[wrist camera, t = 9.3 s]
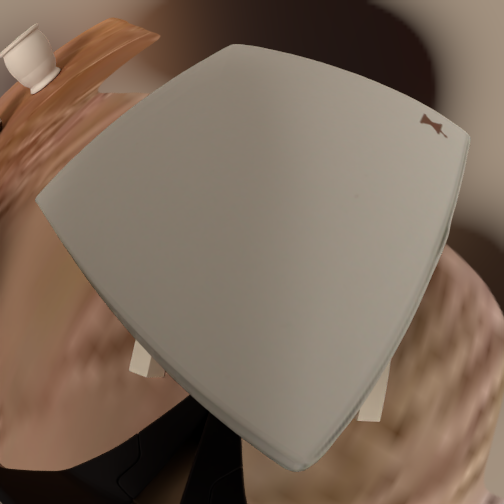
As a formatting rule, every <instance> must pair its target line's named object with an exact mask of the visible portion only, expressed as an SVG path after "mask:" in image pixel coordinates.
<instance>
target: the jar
mask: <svg viewBox="0 0 504 504" xmlns="http://www.w3.org/2000/svg"><path fill="white" fill-rule="evenodd" d="M38 26H39V24H38V23H36V24H34V25H33V26H31V27H30V28H29V29H27V30H26V31H25V32H23V33H22V34H21V35H20V36H19V37H17V38H16V39H15V40H14V41H13V42H12V43H10V44H9V45H8V46H7V47H6V48H5V49H4V50H3V51H2V52H1V53H0V58H1V57H3V58H4V62H5V64H6V67H7V69H8V70H9V72H10V73H11V74H12V76H13V77H15V78H16V79H17V80H18V81H19V82H20V83H21V84H22V85H24V86H25V87H28V88H30V89H31V94H35V93H37V92H38V91H40V90H41V89H43V88H44V87H45V86H46V85H48V84H49V83H50V82H51V81H52V80H53V79H54V78H55V77H56V76H57V75H58V73H59V72H60V68H58V67H56V60H55V56H54V53H53V51H52V48H51V45H50V43H49V41H48V39H47V38H46V36H45V35H44V34H43V33H42V32H41V31H40V30H39V29H38Z"/></svg>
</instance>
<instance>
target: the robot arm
mask: <svg viewBox="0 0 504 504" xmlns="http://www.w3.org/2000/svg"><path fill="white" fill-rule="evenodd" d="M0 504H247V501H246V496H245V488H244V478H243V462H242V442H241V437H240V436H239V435H238V434H236V433H235V432H234V431H232V430H231V429H230V428H229V427H227V426H226V425H225V424H224V423H223V422H221V421H220V420H219V419H218V418H216V417H215V416H214V415H213V414H212V413H211V412H209V411H208V410H207V409H206V408H205V407H204V406H202V405H201V404H200V403H199V402H198V401H197V400H196V399H195V398H194V397H192V396H191V395H189V396H188V397H186V398H185V399H184V400H183V401H181V402H180V403H179V404H177V405H176V406H175V407H173V408H172V409H171V410H169V411H168V412H167V413H165V414H164V415H162V416H161V417H160V418H158V419H157V420H156V421H154V422H153V423H151V424H150V425H149V426H147V427H146V428H144V429H143V430H142V431H140V432H139V434H136V435H134V436H133V437H131V438H130V439H128V440H127V441H125V442H124V443H122V444H120V445H119V446H117V447H115V448H114V449H112V450H110V451H108V452H106V453H104V454H102V455H100V456H98V457H96V458H93V459H91V460H89V461H87V462H85V463H82V464H80V465H78V466H75V467H73V468H70V469H66V470H61V471H32V470H17V469H8V468H5V467H4V466H2V465H1V464H0Z"/></svg>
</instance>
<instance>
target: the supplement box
mask: <svg viewBox="0 0 504 504" xmlns="http://www.w3.org/2000/svg"><path fill="white" fill-rule="evenodd" d="M470 141H471V138H470V136H469V135H468V134H467V133H466V132H465V131H464V130H463V129H461V128H460V127H459V126H457V125H456V124H455V123H453V122H451V121H450V120H448V119H447V118H446V117H444V116H443V115H441V114H439V113H438V112H436V111H435V110H433V109H431V108H429V107H427V106H426V105H424V104H422V103H420V102H418V101H416V100H415V99H412V98H411V97H409V96H407V95H404V94H402V93H400V92H398V91H396V90H394V89H392V88H389V87H387V86H385V85H382V84H380V83H378V82H375V81H373V80H370V79H368V78H365V77H363V76H360V75H357V74H355V73H352V72H349V71H346V70H342V69H340V68H337V67H334V66H331V65H328V64H324V63H321V62H318V61H314V60H311V59H308V58H304V57H300V56H296V55H292V54H288V53H284V52H280V51H275V50H271V49H266V48H262V47H255V46H249V45H240V44H234V45H230V46H228V47H226V48H224V49H222V50H220V51H219V52H217V53H215V54H213V55H211V56H210V57H208V58H206V59H204V60H203V61H201V62H199V63H198V64H196V65H195V66H193V67H191V68H189V69H188V70H186V71H185V72H183V73H181V74H180V75H178V76H177V77H175V78H173V79H172V80H170V81H169V82H167V83H166V84H164V85H163V86H161V87H160V88H158V89H157V90H155V91H154V92H153V93H151V94H150V95H148V96H147V97H145V98H144V99H143V100H141V101H140V102H139V103H137V104H136V105H135V106H133V107H132V108H131V109H129V110H128V111H127V112H126V113H124V114H123V115H122V116H120V117H119V118H118V119H117V120H116V121H114V122H113V123H112V124H111V125H109V126H108V127H107V128H106V129H105V130H104V131H102V132H101V133H100V134H99V135H98V136H97V137H96V138H94V139H93V140H92V141H91V142H90V143H89V144H88V145H87V146H86V147H85V148H84V149H82V150H81V151H80V152H79V153H78V154H77V155H76V156H75V157H74V158H73V159H72V160H71V161H70V162H69V163H68V164H67V165H66V166H65V167H64V168H63V169H62V170H61V171H60V172H59V173H58V174H57V175H56V176H55V177H54V178H53V179H52V180H51V181H50V182H49V184H48V185H47V186H46V187H45V188H44V189H43V190H42V191H41V192H40V193H39V194H38V195H37V197H36V199H35V201H36V203H37V204H38V205H39V207H40V209H41V210H42V212H43V214H44V215H45V217H46V218H47V220H48V221H49V223H50V224H51V226H52V228H53V229H54V231H55V232H56V234H57V235H58V237H59V239H60V240H61V242H62V243H63V245H64V246H65V248H66V249H67V251H68V252H69V254H70V255H71V256H72V258H73V259H74V261H75V262H76V264H77V265H78V267H79V268H80V270H81V271H82V272H83V274H84V275H85V277H86V278H87V279H88V281H89V282H90V284H91V285H92V286H93V288H94V289H95V290H96V292H97V293H98V294H99V296H100V297H101V298H102V299H103V301H104V302H105V303H106V305H107V306H108V307H109V308H110V310H111V311H112V312H113V313H114V314H115V316H116V317H117V318H118V319H119V320H120V322H121V323H122V324H123V325H124V326H125V328H126V329H127V330H128V331H129V332H130V333H131V334H132V336H133V337H134V338H135V339H136V340H137V341H138V342H139V343H140V345H141V346H142V347H143V348H144V349H145V350H146V351H147V352H148V353H149V354H150V355H151V356H152V357H153V359H154V360H155V361H156V362H157V363H158V364H159V365H160V366H161V367H162V368H163V369H164V370H165V371H166V372H167V373H168V374H169V375H170V376H171V377H172V378H173V379H174V380H175V381H176V382H177V383H178V384H180V385H181V386H182V387H183V388H184V389H185V390H186V391H187V392H188V393H189V394H190V395H191V396H192V397H194V398H195V399H196V400H197V401H198V402H199V403H200V404H201V405H202V406H204V407H205V408H206V409H207V410H208V411H209V412H211V413H212V414H213V415H214V416H215V417H216V418H218V419H219V420H220V421H221V422H223V423H224V424H225V425H226V426H227V427H229V428H230V429H231V430H232V431H234V432H235V433H236V434H238V435H239V436H240V437H242V438H243V439H244V440H245V441H247V442H248V443H249V444H251V445H252V446H254V447H255V448H256V449H258V450H259V451H260V452H262V453H263V454H265V455H266V456H267V457H269V458H270V459H272V460H273V461H275V462H276V463H277V464H279V465H280V466H282V467H283V468H285V469H287V470H290V471H295V472H299V471H304V470H306V469H307V468H309V467H310V466H312V465H313V464H315V463H316V462H317V461H318V460H319V459H320V458H321V457H322V456H323V455H324V454H325V453H326V452H327V451H328V450H329V448H330V447H331V446H332V444H333V443H334V442H335V440H336V439H337V438H338V437H339V436H340V434H341V433H342V432H343V431H344V429H345V428H346V427H347V426H348V424H349V423H350V422H351V420H352V419H353V418H354V416H355V415H356V414H357V412H358V411H359V409H360V408H361V406H362V405H363V403H364V402H365V400H366V399H367V397H368V396H369V394H370V393H371V391H372V390H373V388H374V386H375V385H376V383H377V381H378V380H379V378H380V377H381V375H382V373H383V372H384V370H385V368H386V367H387V365H388V363H389V362H390V360H391V358H392V357H393V355H394V353H395V351H396V349H397V348H398V346H399V344H400V342H401V340H402V339H403V337H404V335H405V333H406V331H407V329H408V327H409V325H410V323H411V321H412V319H413V317H414V315H415V313H416V311H417V308H418V306H419V304H420V302H421V300H422V297H423V295H424V293H425V291H426V288H427V286H428V284H429V281H430V279H431V277H432V274H433V272H434V270H435V268H436V265H437V263H438V261H439V258H440V256H441V254H442V252H443V249H444V246H445V244H446V241H447V238H448V235H449V230H450V225H451V220H452V217H453V213H454V210H455V206H456V203H457V199H458V195H459V191H460V187H461V183H462V178H463V174H464V170H465V165H466V160H467V155H468V150H469V146H470Z"/></svg>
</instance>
